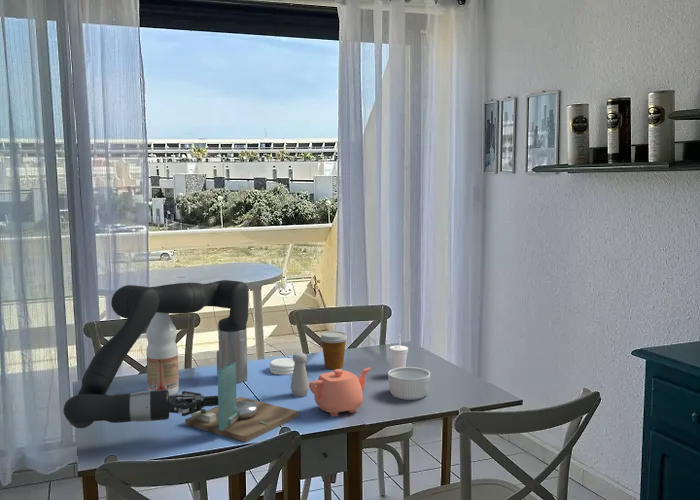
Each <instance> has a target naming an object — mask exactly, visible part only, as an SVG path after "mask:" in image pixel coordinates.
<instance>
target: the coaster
mask: <svg viewBox="0 0 700 500" xmlns="http://www.w3.org/2000/svg"><path fill="white" fill-rule="evenodd" d="M294 364H295V362H294V361H293V358H288V357H285V358H284V357H283V358H282V357H280V358H274V359H272V360H271V361H270V362H269V371H270V373H271V374H273V375H279V376H288V375H293V370H294Z"/></svg>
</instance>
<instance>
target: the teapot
mask: <svg viewBox="0 0 700 500" xmlns="http://www.w3.org/2000/svg"><path fill="white" fill-rule="evenodd" d="M370 370H372V367H367V368H364V369H363V370H362V371H361V373H360V376H359V377H358V376H357V375H356V374H354V373H352V372H350V371H348V370H344V369H343V368H341V369H335V370H333V371H329V372H324V373H321V374H319V376H318V378H317V380H312V381H310V382H309V390H310V391H311V393H312V394H313V396H314V401H315V404H316V406H318V407H319V408H320V410H321V409H322V410H321V411H325V412H327V413H330V414H329V416H330V415H331V416H330V417H332V416H336V417H338V416H339V413H341V412H348V413H349V414H355V413H357V410H356V409H359V408H361V406H362V404H363V402H364V394H363V391H364V390H365V387H366V380H367V379H366V377H367V373H368V372H369V371H370Z"/></svg>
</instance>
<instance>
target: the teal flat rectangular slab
mask: <svg viewBox="0 0 700 500" xmlns="http://www.w3.org/2000/svg"><path fill="white" fill-rule="evenodd" d="M217 396H218V405H217V406H218V412H219V430H222V431H223V430H225V429H226V428H227V427H228V426H230V425H231V424H233V423H234V422H235V421H236V420H238V419H239V418H249V417H252V416H255V415H256V414H257V404H256V403H254V402H249V401H241V402H236V399H237V383H236V362H230V363H229V364H227V365H225V366H224V367H222V368H220V369H219V370H218V379H217Z"/></svg>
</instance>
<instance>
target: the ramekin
mask: <svg viewBox="0 0 700 500" xmlns="http://www.w3.org/2000/svg"><path fill="white" fill-rule="evenodd" d="M387 378H388V385H389V386H388V387H389V391H390V394H391V395H392V396H393V397H395V398H396V399H400V400H406V401H407V400H408V401H415V400H419V399H423V398H424V397H426V396H427V395H428V392H429V387H430V379H431V372H430V371H429V370H427V369H425V368H421V367H415V366H414V367H413V366H405V367H400V368H395V369H390V370H389V371H388V372H387Z"/></svg>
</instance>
